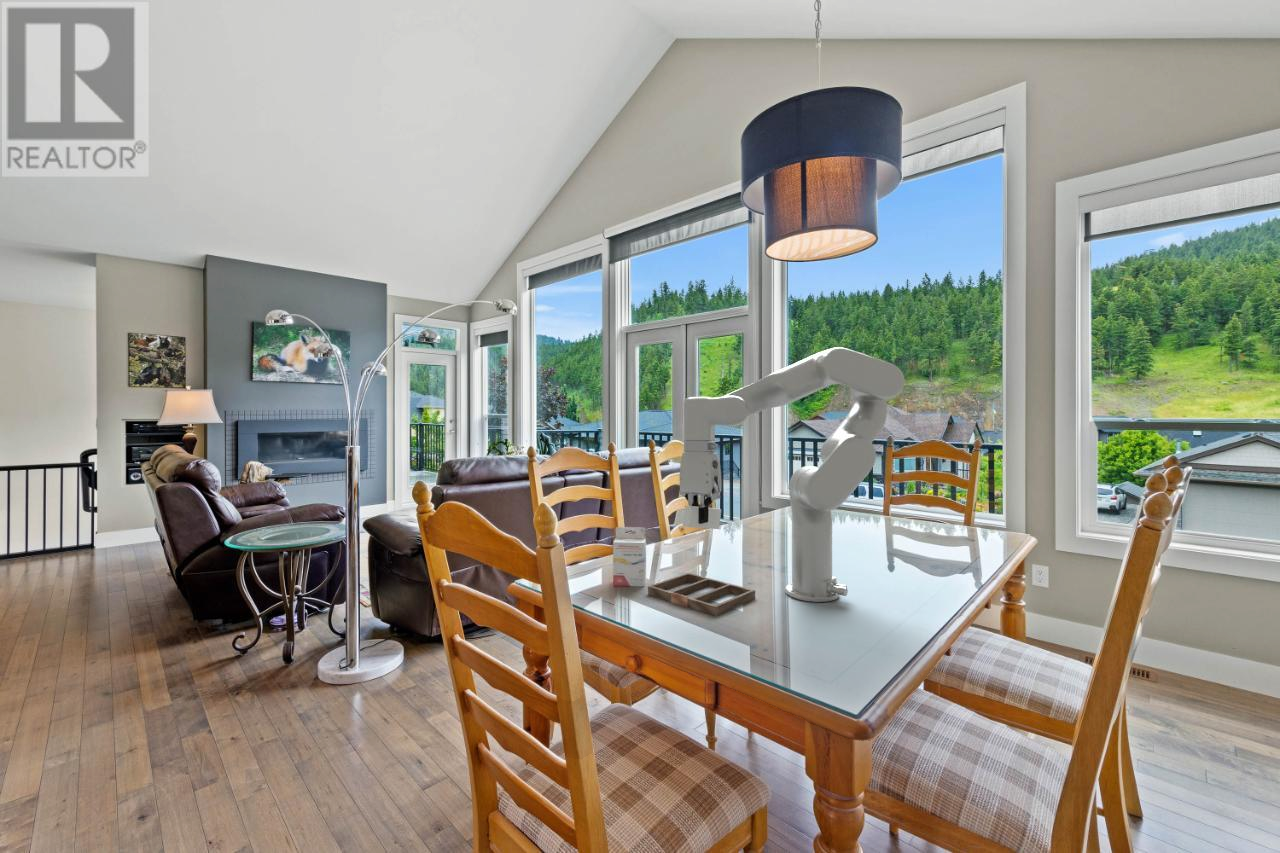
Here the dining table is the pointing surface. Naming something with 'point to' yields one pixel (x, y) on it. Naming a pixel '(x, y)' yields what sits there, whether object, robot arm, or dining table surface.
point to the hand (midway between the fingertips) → (699, 521)
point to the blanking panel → (693, 518)
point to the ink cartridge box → (629, 557)
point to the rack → (701, 593)
